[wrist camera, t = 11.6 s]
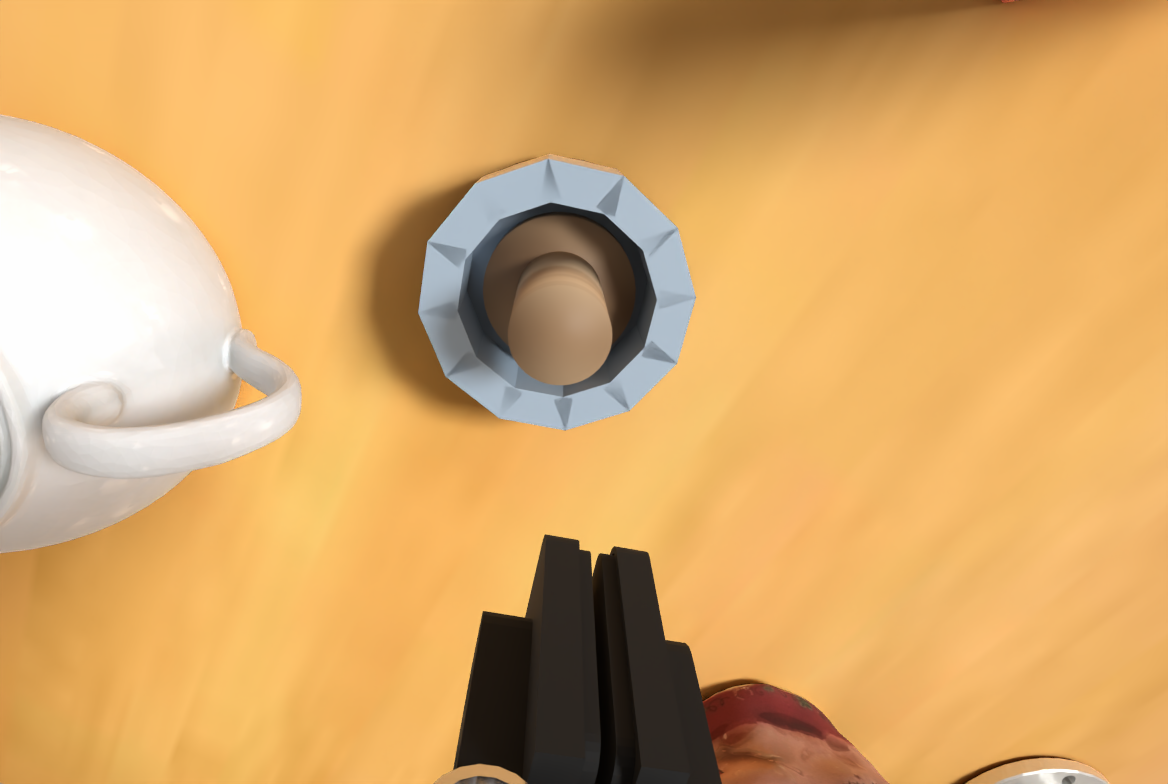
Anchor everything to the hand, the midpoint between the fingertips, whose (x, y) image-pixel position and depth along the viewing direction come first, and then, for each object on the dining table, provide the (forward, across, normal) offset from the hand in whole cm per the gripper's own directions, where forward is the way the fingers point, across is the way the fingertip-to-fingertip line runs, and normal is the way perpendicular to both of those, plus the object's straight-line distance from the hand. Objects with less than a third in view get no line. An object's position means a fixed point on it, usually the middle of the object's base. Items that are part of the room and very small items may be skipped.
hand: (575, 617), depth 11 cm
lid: (+21, +1, 0) cm, 21 cm away
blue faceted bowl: (+22, +1, -1) cm, 22 cm away
